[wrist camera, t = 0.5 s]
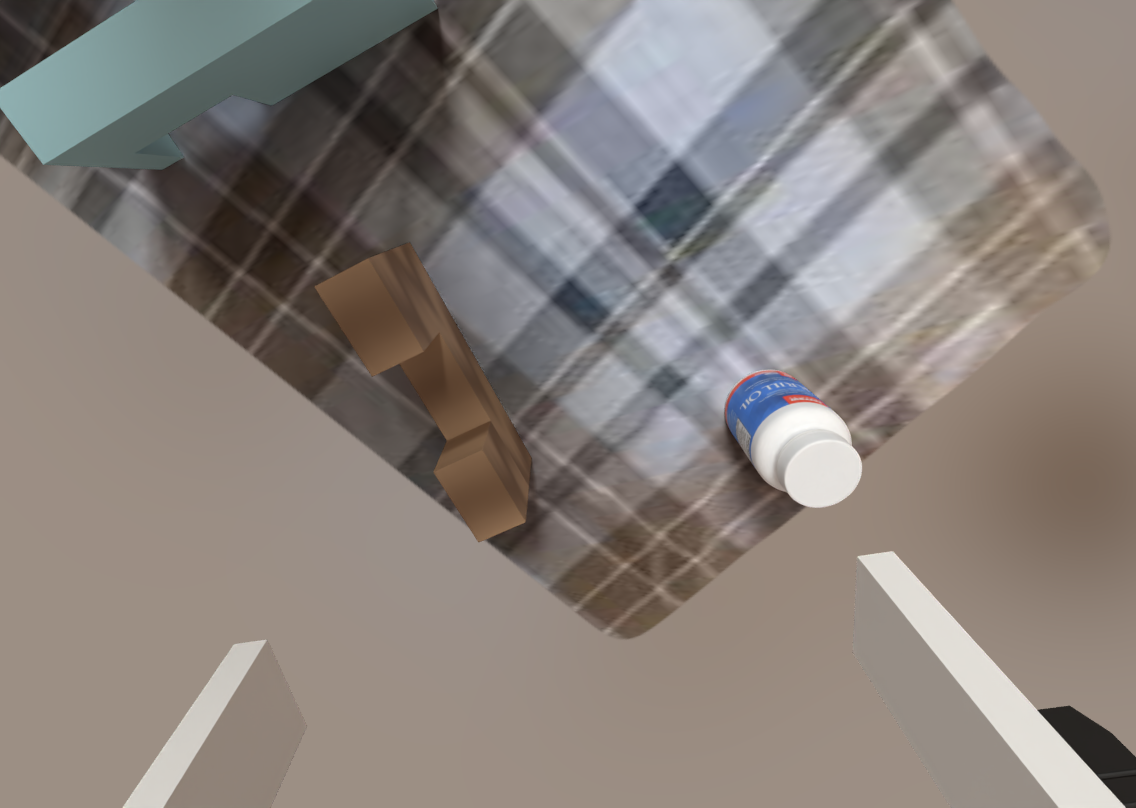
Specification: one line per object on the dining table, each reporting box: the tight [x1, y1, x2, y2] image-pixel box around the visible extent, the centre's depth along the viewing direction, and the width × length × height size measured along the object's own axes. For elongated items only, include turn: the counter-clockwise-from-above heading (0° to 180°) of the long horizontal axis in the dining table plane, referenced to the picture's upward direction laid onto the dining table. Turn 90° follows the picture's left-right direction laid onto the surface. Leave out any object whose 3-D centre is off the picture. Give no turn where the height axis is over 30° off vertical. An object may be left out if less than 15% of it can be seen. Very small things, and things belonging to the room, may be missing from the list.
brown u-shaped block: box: [314, 242, 532, 542], centre depth 33 cm, size 16×3×8 cm, turn 26°
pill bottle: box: [725, 370, 862, 508], centre depth 33 cm, size 6×5×10 cm
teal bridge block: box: [0, 0, 438, 170], centre depth 27 cm, size 3×18×8 cm, turn 116°
